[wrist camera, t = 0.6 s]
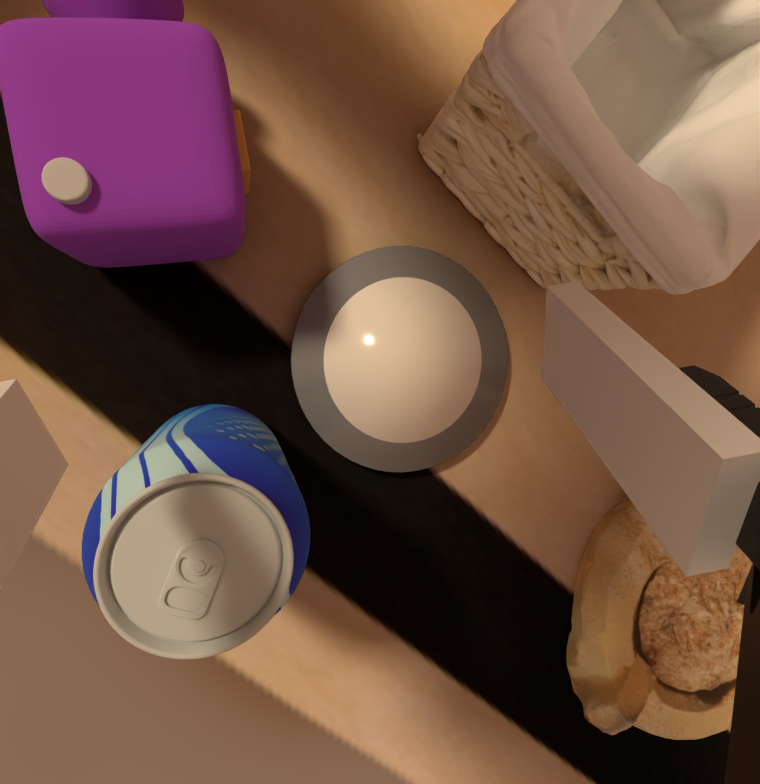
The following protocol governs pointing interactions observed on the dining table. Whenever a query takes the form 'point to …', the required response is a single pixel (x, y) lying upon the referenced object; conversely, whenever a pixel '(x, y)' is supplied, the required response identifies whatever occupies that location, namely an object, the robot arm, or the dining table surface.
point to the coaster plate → (399, 359)
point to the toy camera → (124, 133)
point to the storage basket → (611, 140)
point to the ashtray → (653, 634)
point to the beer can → (197, 535)
